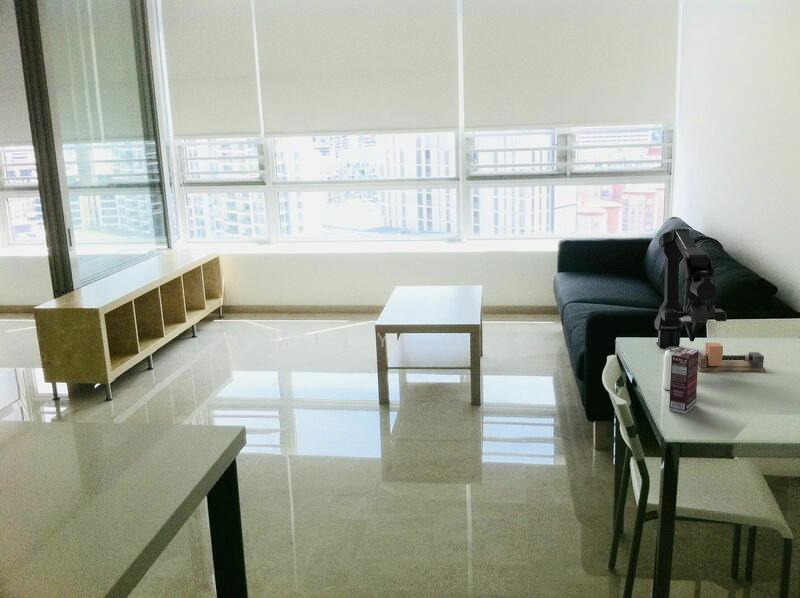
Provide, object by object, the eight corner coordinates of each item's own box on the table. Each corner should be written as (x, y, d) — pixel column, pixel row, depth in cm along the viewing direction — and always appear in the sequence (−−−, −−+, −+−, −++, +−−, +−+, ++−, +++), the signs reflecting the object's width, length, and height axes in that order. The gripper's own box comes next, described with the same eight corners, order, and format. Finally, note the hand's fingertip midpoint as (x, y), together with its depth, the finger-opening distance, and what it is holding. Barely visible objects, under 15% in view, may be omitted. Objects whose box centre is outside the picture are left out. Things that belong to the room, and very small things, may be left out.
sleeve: (708, 365, 237) (709, 346, 236) (704, 361, 241) (705, 342, 240) (721, 365, 237) (723, 346, 235) (717, 361, 241) (718, 342, 239)
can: (682, 384, 224) (685, 346, 222) (688, 392, 218) (691, 352, 215) (660, 384, 225) (662, 346, 222) (665, 392, 219) (667, 352, 216)
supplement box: (678, 401, 211) (682, 347, 207) (696, 405, 208) (700, 350, 204) (667, 410, 204) (670, 354, 201) (685, 414, 201) (689, 357, 198)
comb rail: (699, 371, 235) (700, 358, 234) (690, 363, 244) (691, 350, 243) (765, 372, 233) (766, 358, 232) (754, 363, 242) (756, 350, 241)
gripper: (670, 299, 228) (667, 348, 231) (734, 298, 226) (730, 348, 229) (661, 291, 238) (659, 338, 242) (722, 290, 237) (719, 338, 240)
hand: (691, 341), depth 238 cm, fingers closed
